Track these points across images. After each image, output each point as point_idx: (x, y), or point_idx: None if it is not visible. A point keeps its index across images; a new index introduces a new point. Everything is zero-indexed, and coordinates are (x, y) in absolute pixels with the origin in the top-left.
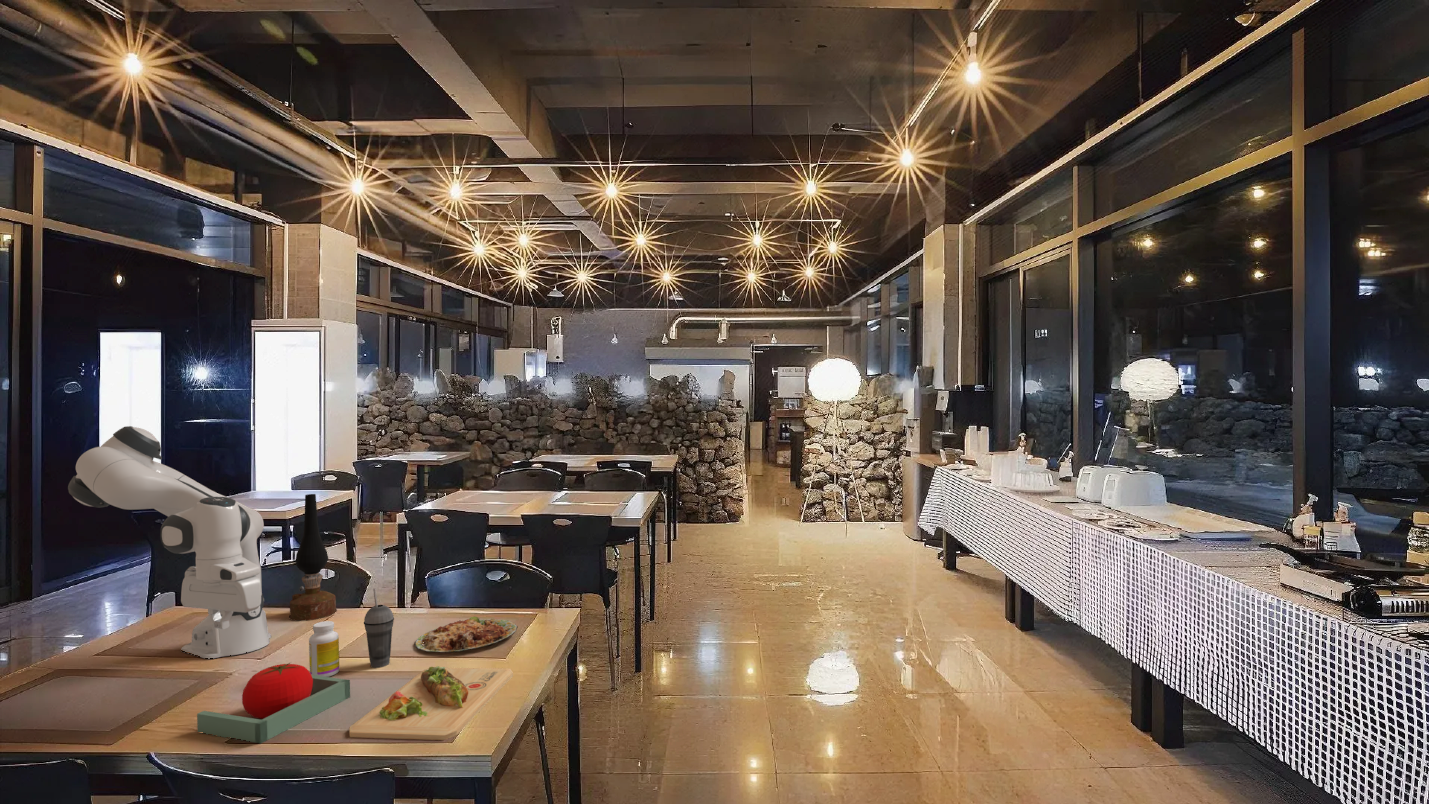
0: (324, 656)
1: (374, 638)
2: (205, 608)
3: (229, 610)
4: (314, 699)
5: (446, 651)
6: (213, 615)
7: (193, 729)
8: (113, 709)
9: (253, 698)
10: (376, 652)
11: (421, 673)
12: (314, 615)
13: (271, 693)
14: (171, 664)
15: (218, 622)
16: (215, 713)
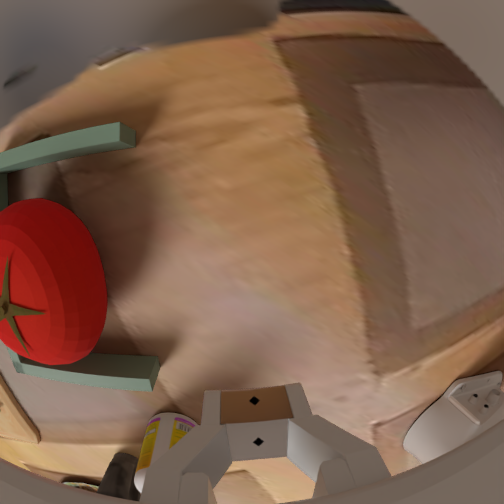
0: (143, 448)
1: (103, 490)
2: (403, 474)
3: (31, 476)
4: None
5: (83, 484)
6: (323, 453)
7: (162, 137)
8: (443, 170)
9: (12, 204)
10: (109, 471)
11: (19, 422)
12: None
13: None
14: (490, 342)
15: (241, 417)
16: (77, 143)
